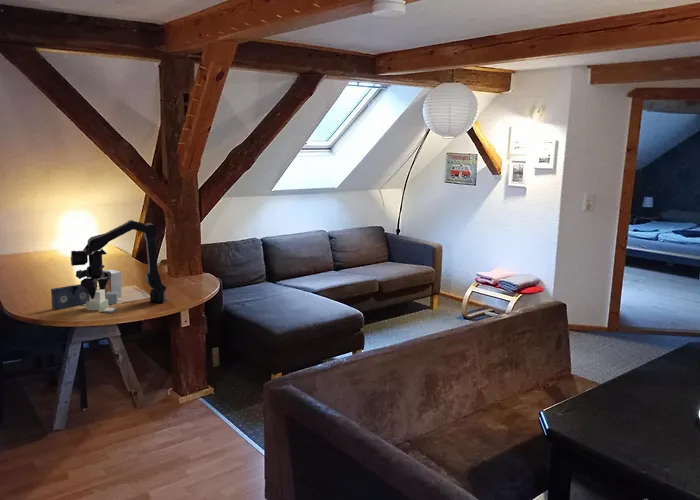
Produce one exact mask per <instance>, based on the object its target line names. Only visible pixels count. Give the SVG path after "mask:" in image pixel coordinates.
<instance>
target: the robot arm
mask: <svg viewBox="0 0 700 500" xmlns="http://www.w3.org/2000/svg"><path fill="white" fill-rule="evenodd" d="M133 230H135V231H137V232H141V233H142V234H143V237H144V240H145V242H146V243H145V246H146V256H147V258H146V259H147V266H148V267H147V268H148V270H147V272H145V273H144V276H145V280H144V281H145V282H146V284H148V285H149V287H150V288H151V289H150V292H149V303H151V304H163V303H165V302H166V301H167V300H168V299H167V298H166V297H167V296H166V295H167V293H166V290H167V286H165V284H163V282H162V279H161V275H160V273H159V270H158V263H157V262H158V261H157V249H156V247H157V246H156V241H157V237H158V228H157V226H155V225H154V224H153V223H151V222H145V223H144V222H139V221H134V220H133V219H130V220H128V221H127V222H124V223H123V224H120V225H119V226H117V227H114V228H112V229H111V230H109V231H107V232H105V233H102V234H97V235H94V236H90V237H89V238H88V240H87V242H86V245H85V247H84V248H83V249H82V250H71V251H70V265H71V266H72V267H73V266H86V264H87V263H88V266H87V267H86V269H84V270H82V269H78V270H76V271H75V277H76V278H77V279H78V280H81V279H82V278H83V279H82V280H81V281H80V284H81V286H83V287H85V288H86V289H87V290H88V292H89V295H90V297H91V299H94V297H95V293H96V290H97V289H104V290H105V288H106V285H107V283H108V281H109V279H110V277H111V273H110V272H109V271H105V270H103V269H104V268H105V264H103V255H107V252H106V251H105V250H104V249H103V248H104V247H106V245H107V244H109V243H110V242H111V241H113V240H115V239H117V238H119V237H120V236H123V235H125V234H127V233H129V232H131V231H133Z"/></svg>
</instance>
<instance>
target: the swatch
mask: <svg viewBox="0 0 700 500" xmlns="http://www.w3.org/2000/svg"><path fill="white" fill-rule="evenodd" d="M118 310H119V308H117V307H107V308H105V309H103V310H101V311H99V312H103V314H105V313H106V314H115V312H117V311H118Z"/></svg>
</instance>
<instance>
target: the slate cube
mask: <svg viewBox="0 0 700 500" xmlns="http://www.w3.org/2000/svg"><path fill="white" fill-rule="evenodd" d="M105 299H108V305H117V304H118V303H117V302H119V297H118V291H117V292H107V293H106V294H105Z"/></svg>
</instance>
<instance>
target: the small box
mask: <svg viewBox="0 0 700 500" xmlns="http://www.w3.org/2000/svg"><path fill="white" fill-rule="evenodd" d="M104 271H109V272H110V273H111V277H110V279H109V281H108V283H107V285H106V288H105V294H106V293H107V292H117V291H118V298H120V297H122V296H123V295H122V293H123V292H122V272H121V271H118V270H116V269H106V270H104Z"/></svg>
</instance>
